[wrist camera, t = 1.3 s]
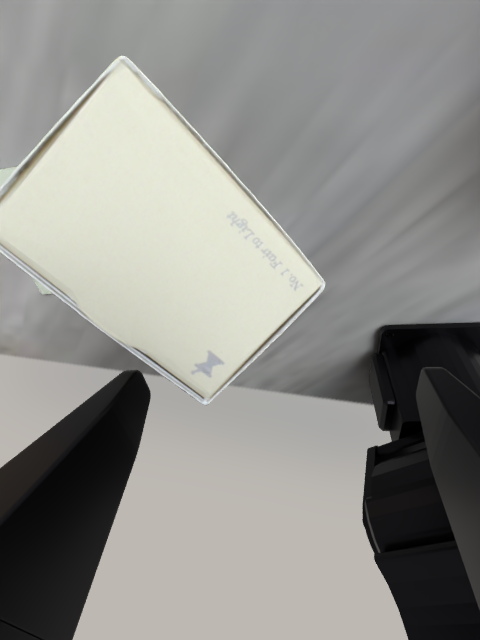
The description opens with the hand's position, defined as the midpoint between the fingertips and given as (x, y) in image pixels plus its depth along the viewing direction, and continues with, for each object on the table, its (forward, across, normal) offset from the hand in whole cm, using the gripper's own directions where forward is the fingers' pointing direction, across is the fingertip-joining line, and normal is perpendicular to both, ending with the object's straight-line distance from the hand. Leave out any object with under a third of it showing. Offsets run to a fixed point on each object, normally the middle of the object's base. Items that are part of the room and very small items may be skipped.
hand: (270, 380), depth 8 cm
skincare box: (+11, +6, 0) cm, 13 cm away
